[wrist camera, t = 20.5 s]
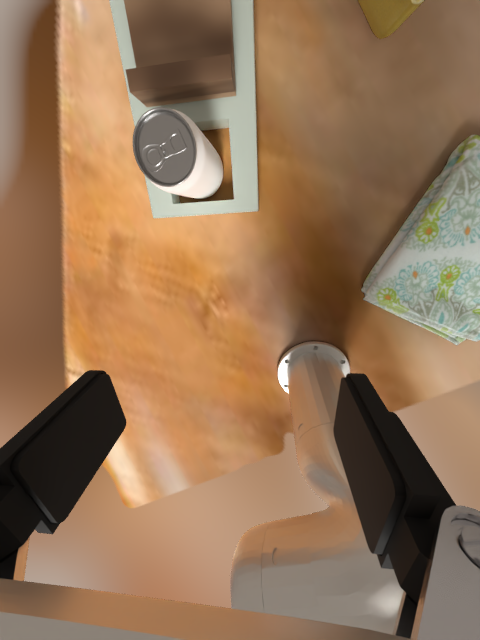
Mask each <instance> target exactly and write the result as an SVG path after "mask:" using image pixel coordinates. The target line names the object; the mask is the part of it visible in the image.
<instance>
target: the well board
mask: <svg viewBox="0 0 480 640" xmlns="http://www.w3.org/2000/svg"><path fill="white" fill-rule="evenodd" d="M109 1H110V6H111V11H112V16H113V21H114V26H115V31H116V36H117V41H118V46H119V51H120V55H121V60H122V65H123V70H124V75H125V80H126V85H127V90H128V95H129V100H130V105H131V110H132V115H133V120H134V125H135V126H136V124H137V122H138V120H139V119H140V117H141V116H142V115H143V114H144V113H145V112H147V111H148V110H150V109H153V108H156V107H165V108H169V109H174V110H177V111H180V112H182V113H183V114H185V115H186V116H188V117H189V118H190V119H191V120H192V121H193V122H194V123H195V124H196V125H197V127H198V128H199V129H200V130H201V131H204V130H213V129H222V128H229V131H230V147H231V162H232V178H233V193H234V200H221V201H207V202H194V203H181V204H180V198H179V195H176V194H172V193H168V192H165V191H163V190H161V189H159V188H158V187H156V186H155V185H154V184H153V183H152V182H151V181H150V180H149V179H148V178H147V177H146V176H145V179H146V184H147V189H148V194H149V199H150V204H151V209H152V214H153V218H167V217H182V216H196V215H210V214H225V213H239V212H254V211H259V200H258V160H257V120H256V80H255V39H254V0H231V5H232V24H233V43H234V63H235V82H236V96H232V97H224V98H216V99H208V100H201V101H193V102H185V103H177V104H170V105H162V106H154V107H146V106H145V105H144V104H143V103H142V102H141V101H139V100H138V99H137V98H136V97H135V96H134V95H133V94H132V93H130V90H129V85H128V80H127V75H126V70H125V69H132V68H136V64H135V59H134V53H133V48H132V42H131V37H130V31H129V26H128V21H127V15H126V10H125V4H124V0H109Z"/></svg>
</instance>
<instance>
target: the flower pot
mask: <svg viewBox="0 0 480 640" xmlns="http://www.w3.org/2000/svg"><path fill="white" fill-rule="evenodd" d="M424 1H425V0H358V2H359V4H360V6H361V8H362V10H363V12H364V15H365V17H366V19H367V21H368V23H369V25H370V28H371V30H372V32H373V33H374V35H375V36H376V37H377V38H380V39H382V38H386V37H388V36H389V35H391V34H392V33H393V32H394V31H396V30H397V29H398V28H399V27H400V26H401V25H402V24H403V22H404V21H405V20H406V19H407V18H408V17H409V16H410V15H411V14H412V13H413V12H414V11H415V10H416V9H417V8H418V7H419V6H420V5H421V4H422V3H423V2H424Z"/></svg>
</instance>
